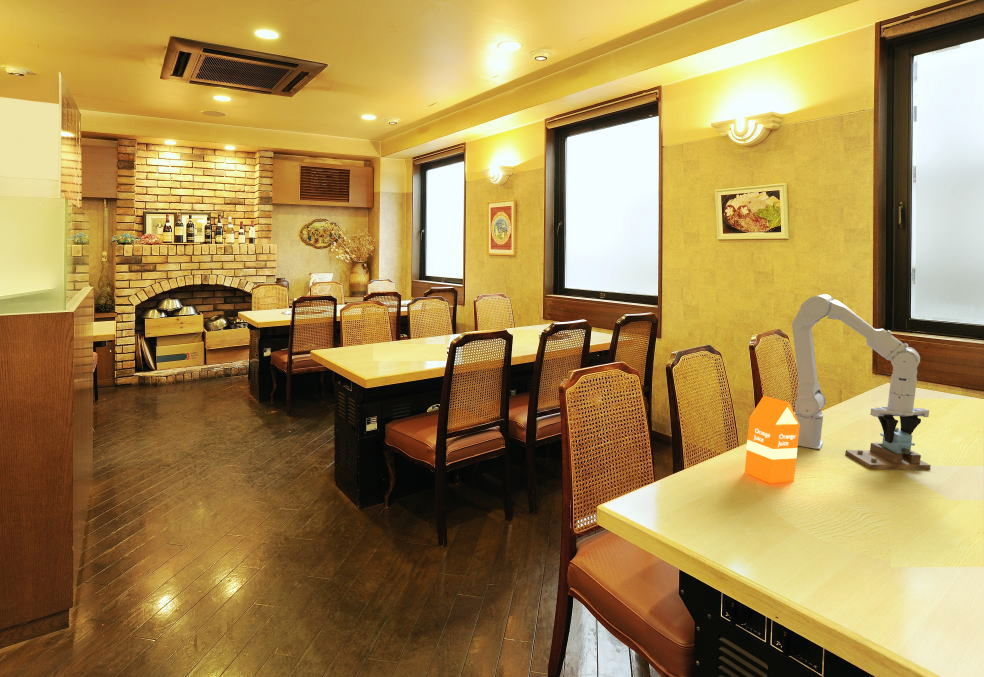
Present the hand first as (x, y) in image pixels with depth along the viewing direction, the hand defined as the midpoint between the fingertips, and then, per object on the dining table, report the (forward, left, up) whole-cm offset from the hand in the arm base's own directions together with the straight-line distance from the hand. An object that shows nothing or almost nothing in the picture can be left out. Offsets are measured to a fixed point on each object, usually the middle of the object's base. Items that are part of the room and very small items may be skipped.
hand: (896, 441), depth 163 cm
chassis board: (-2, -1, -6) cm, 6 cm away
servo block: (0, 0, -2) cm, 2 cm away
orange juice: (-26, -32, -6) cm, 42 cm away
